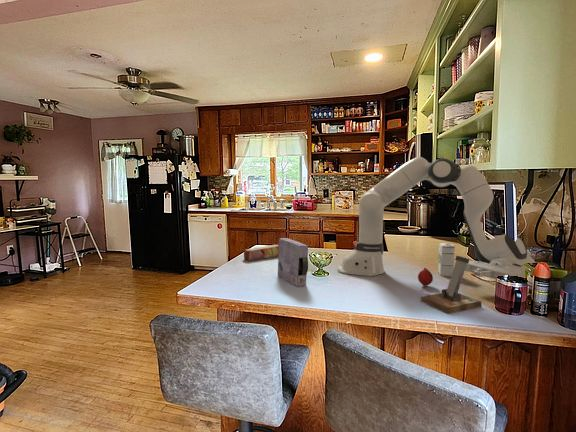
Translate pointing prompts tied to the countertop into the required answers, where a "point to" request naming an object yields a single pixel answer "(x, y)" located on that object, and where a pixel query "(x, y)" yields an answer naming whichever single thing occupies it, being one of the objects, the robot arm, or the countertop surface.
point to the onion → (425, 277)
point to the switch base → (450, 302)
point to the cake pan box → (293, 261)
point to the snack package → (261, 252)
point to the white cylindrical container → (446, 259)
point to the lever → (456, 276)
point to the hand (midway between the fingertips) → (476, 273)
